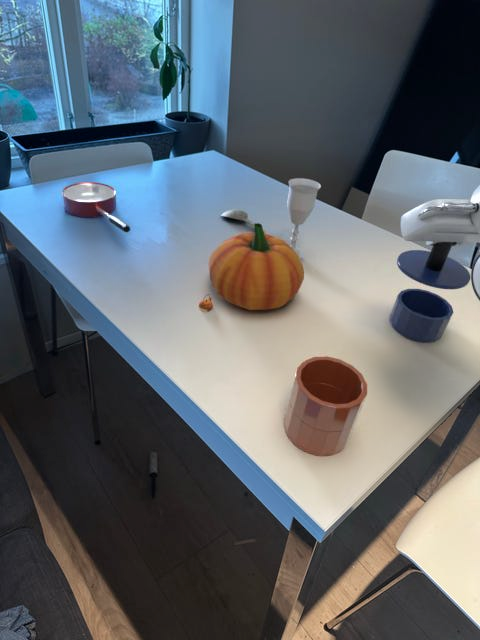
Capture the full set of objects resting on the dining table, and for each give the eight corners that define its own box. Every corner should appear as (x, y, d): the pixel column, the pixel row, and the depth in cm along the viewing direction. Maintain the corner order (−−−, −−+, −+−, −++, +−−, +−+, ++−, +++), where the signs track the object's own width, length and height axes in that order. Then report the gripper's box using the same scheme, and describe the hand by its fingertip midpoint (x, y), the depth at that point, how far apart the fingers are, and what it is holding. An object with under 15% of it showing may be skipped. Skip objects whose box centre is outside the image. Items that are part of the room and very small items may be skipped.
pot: (358, 425, 67) (377, 378, 61) (331, 468, 61) (349, 420, 55) (303, 394, 71) (316, 347, 65) (271, 431, 65) (282, 382, 59)
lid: (475, 274, 74) (503, 216, 68) (456, 301, 66) (486, 239, 60) (409, 249, 79) (429, 193, 73) (384, 272, 71) (405, 212, 65)
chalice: (286, 266, 103) (300, 191, 92) (270, 253, 108) (281, 179, 97) (311, 261, 107) (327, 188, 96) (294, 248, 111) (308, 177, 100)
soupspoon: (235, 213, 125) (216, 219, 122) (236, 202, 123) (216, 207, 120) (288, 244, 112) (268, 251, 108) (289, 232, 110) (269, 239, 106)
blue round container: (448, 324, 91) (458, 302, 88) (433, 349, 84) (445, 327, 81) (399, 304, 95) (407, 282, 92) (381, 326, 88) (390, 303, 85)
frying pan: (163, 243, 106) (162, 218, 102) (112, 256, 99) (109, 229, 95) (103, 194, 125) (101, 172, 121) (56, 202, 118) (53, 179, 114)
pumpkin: (312, 315, 89) (329, 248, 80) (219, 323, 84) (225, 253, 75) (280, 265, 103) (291, 204, 94) (199, 270, 98) (202, 205, 89)
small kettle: (196, 304, 88) (196, 293, 86) (210, 301, 89) (211, 290, 87) (201, 312, 86) (202, 301, 84) (216, 310, 87) (217, 298, 85)
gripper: (436, 229, 54) (381, 259, 68) (580, 233, 58) (500, 261, 71) (432, 180, 55) (378, 219, 68) (573, 187, 59) (496, 223, 72)
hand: (441, 241), depth 70 cm, fingers closed on lid, 2 cm apart
